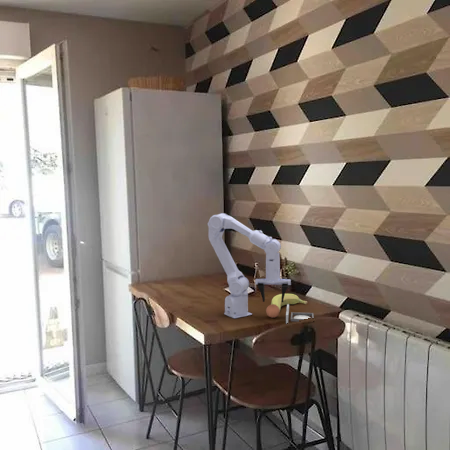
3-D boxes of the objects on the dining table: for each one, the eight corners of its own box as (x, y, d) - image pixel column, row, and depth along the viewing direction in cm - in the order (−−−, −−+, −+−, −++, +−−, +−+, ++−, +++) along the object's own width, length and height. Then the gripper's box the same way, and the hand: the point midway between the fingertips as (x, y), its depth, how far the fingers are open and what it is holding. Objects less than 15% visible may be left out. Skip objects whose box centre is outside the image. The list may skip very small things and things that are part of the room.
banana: (264, 290, 220) (303, 291, 227) (262, 301, 222) (300, 302, 229) (277, 305, 208) (317, 306, 215) (274, 317, 210) (314, 317, 217)
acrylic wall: (288, 323, 195) (288, 315, 194) (286, 323, 195) (285, 315, 194) (288, 312, 210) (289, 304, 210) (287, 312, 210) (287, 304, 210)
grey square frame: (290, 321, 198) (290, 318, 198) (291, 314, 207) (291, 312, 207) (313, 321, 196) (313, 319, 196) (313, 315, 205) (313, 313, 205)
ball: (271, 320, 200) (271, 307, 199) (263, 316, 204) (263, 304, 204) (282, 317, 203) (282, 304, 202) (273, 314, 207) (273, 302, 207)
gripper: (254, 270, 198) (254, 303, 200) (290, 271, 196) (290, 304, 198) (256, 267, 205) (256, 299, 207) (290, 267, 203) (290, 299, 204)
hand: (273, 301), depth 203 cm, fingers open, 7 cm apart
